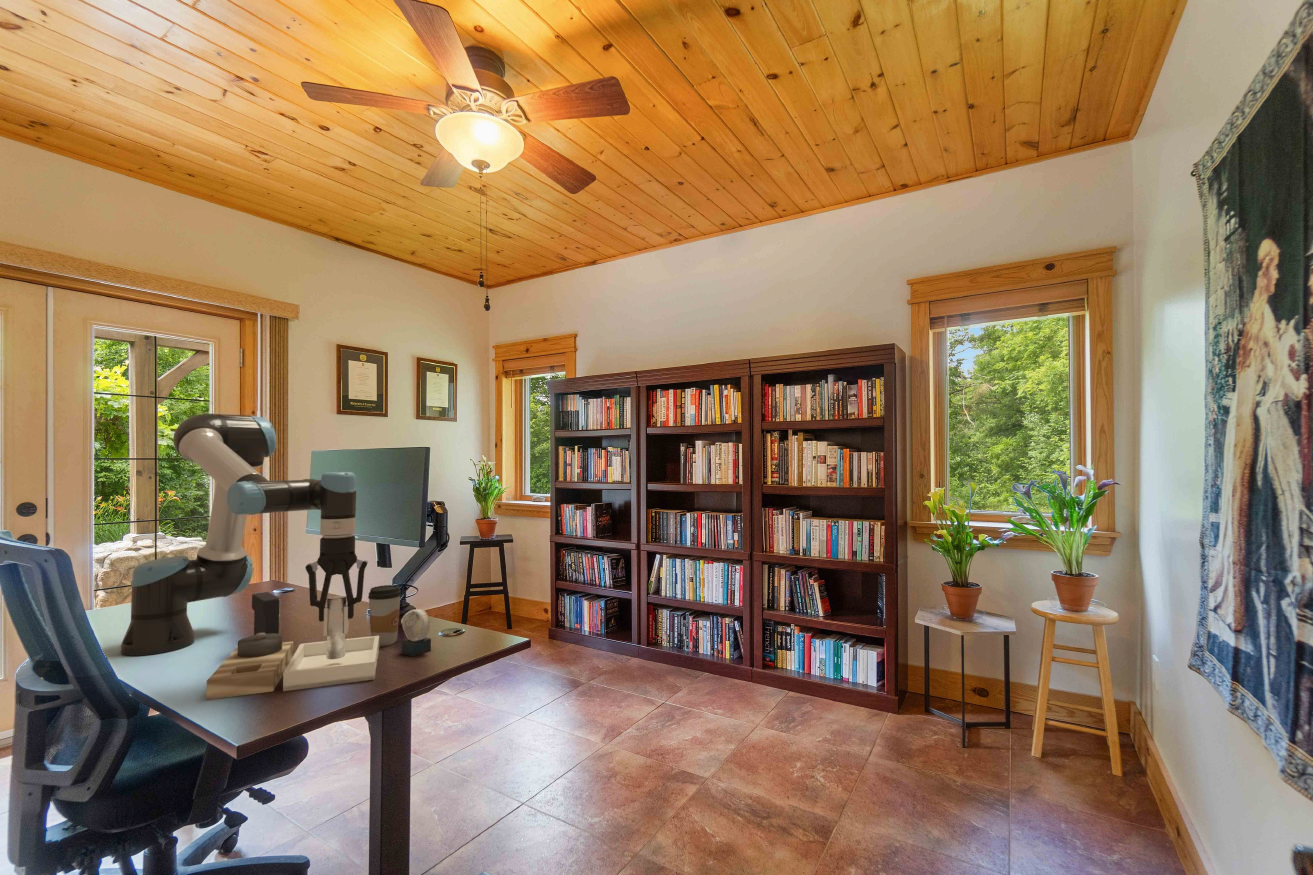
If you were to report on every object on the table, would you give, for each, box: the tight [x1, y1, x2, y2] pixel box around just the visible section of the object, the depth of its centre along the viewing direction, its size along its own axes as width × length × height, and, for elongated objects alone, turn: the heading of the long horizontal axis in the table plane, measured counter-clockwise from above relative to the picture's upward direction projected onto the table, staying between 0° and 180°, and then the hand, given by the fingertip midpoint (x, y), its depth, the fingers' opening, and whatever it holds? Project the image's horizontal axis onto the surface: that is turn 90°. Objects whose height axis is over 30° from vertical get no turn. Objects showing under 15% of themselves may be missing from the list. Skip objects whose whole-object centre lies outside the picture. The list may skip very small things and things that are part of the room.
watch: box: [400, 608, 432, 658], centre depth 155 cm, size 6×8×11 cm
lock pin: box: [326, 595, 347, 659], centre depth 143 cm, size 4×4×14 cm
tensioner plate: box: [205, 633, 294, 701], centre depth 138 cm, size 24×12×8 cm, turn 23°
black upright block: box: [251, 591, 282, 636], centre depth 154 cm, size 11×4×15 cm, turn 47°
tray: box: [282, 635, 380, 692], centre depth 143 cm, size 22×18×4 cm
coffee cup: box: [367, 584, 402, 647], centre depth 163 cm, size 8×8×15 cm
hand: (336, 633), depth 143 cm, fingers closed on lock pin, 3 cm apart
